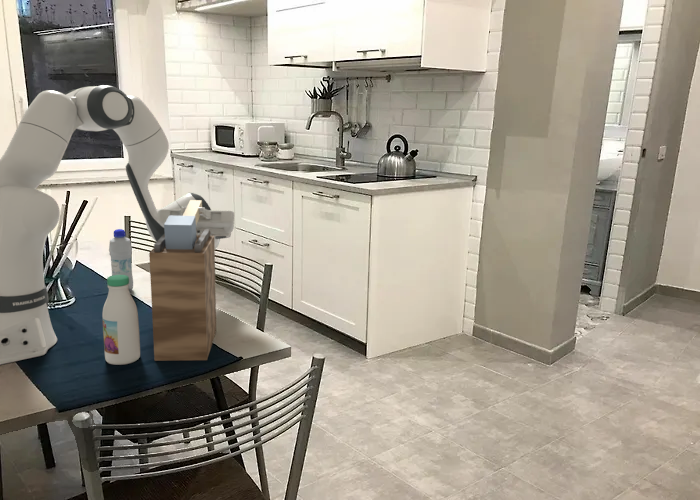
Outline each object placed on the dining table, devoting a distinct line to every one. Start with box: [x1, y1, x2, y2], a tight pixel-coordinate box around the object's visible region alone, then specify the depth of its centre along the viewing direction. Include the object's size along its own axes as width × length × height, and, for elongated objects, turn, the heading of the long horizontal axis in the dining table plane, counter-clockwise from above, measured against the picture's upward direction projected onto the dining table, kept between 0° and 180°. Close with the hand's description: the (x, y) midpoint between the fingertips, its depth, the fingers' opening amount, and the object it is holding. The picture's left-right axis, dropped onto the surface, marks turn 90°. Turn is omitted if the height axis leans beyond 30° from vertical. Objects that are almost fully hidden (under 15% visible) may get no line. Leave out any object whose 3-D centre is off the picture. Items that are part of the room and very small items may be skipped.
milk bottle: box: [101, 275, 141, 366], centre depth 133 cm, size 8×8×20 cm
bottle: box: [108, 228, 134, 292], centre depth 180 cm, size 7×7×20 cm
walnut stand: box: [148, 229, 217, 362], centre depth 141 cm, size 18×12×28 cm, turn 6°
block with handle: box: [164, 200, 202, 250], centre depth 144 cm, size 26×6×6 cm, turn 5°
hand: (192, 209), depth 151 cm, fingers closed on block with handle, 3 cm apart
